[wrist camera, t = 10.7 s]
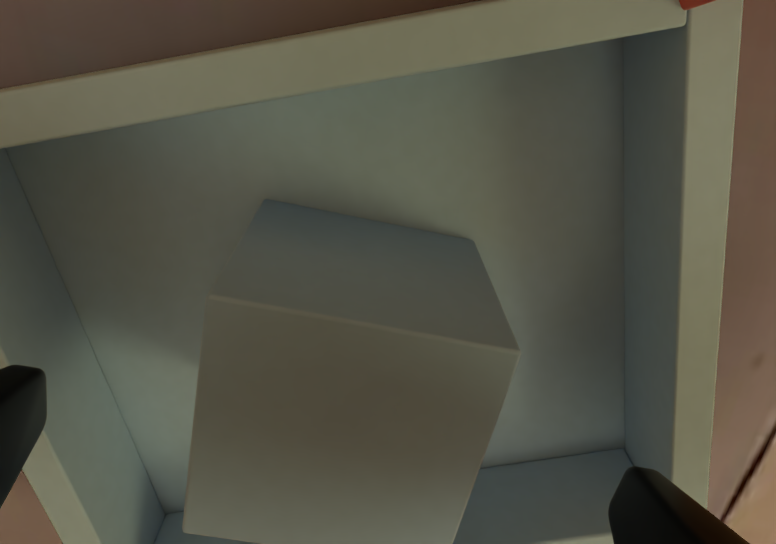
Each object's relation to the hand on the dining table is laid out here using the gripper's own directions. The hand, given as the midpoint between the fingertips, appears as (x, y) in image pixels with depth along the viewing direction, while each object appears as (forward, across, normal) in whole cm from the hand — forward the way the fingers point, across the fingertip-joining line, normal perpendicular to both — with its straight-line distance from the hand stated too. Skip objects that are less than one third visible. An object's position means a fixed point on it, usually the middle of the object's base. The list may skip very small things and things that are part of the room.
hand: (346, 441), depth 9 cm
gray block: (+4, 0, 0) cm, 5 cm away
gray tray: (+5, 0, 0) cm, 5 cm away
